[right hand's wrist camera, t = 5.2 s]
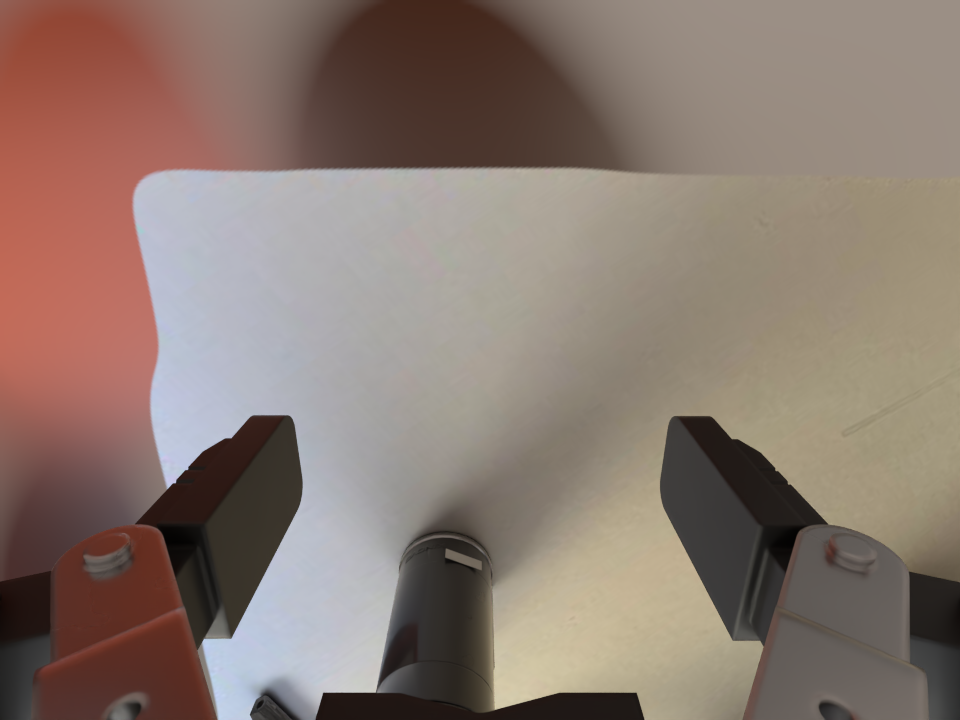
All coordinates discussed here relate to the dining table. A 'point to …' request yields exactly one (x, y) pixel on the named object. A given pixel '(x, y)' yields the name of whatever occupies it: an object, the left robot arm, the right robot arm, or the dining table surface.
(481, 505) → the dining table surface
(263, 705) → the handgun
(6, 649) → the right robot arm
